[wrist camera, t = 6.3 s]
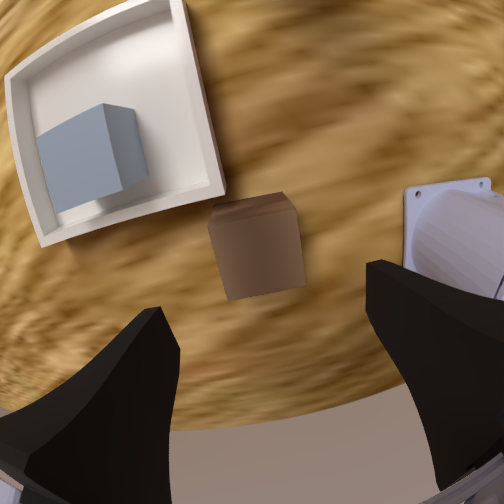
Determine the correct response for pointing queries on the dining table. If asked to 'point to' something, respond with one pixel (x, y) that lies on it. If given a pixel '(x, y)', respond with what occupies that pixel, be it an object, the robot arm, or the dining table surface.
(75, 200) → the gray block
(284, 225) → the walnut block
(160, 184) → the dish
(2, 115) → the dining table surface
